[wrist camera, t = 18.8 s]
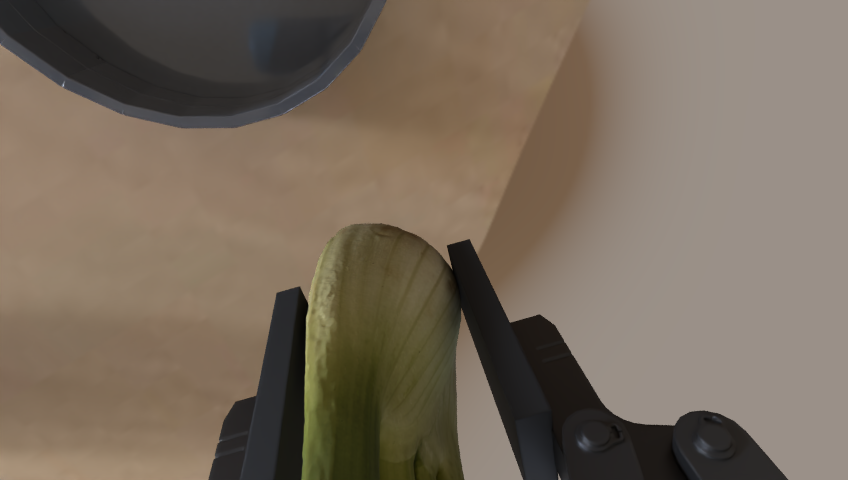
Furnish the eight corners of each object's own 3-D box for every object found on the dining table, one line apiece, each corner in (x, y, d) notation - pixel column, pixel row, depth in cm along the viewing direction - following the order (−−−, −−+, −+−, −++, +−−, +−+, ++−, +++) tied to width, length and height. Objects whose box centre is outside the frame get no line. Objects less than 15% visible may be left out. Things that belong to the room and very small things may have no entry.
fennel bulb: (298, 205, 14) (196, 761, 4) (445, 189, 15) (667, 645, 5) (326, 336, 17) (307, 840, 7) (447, 318, 18) (586, 764, 8)
